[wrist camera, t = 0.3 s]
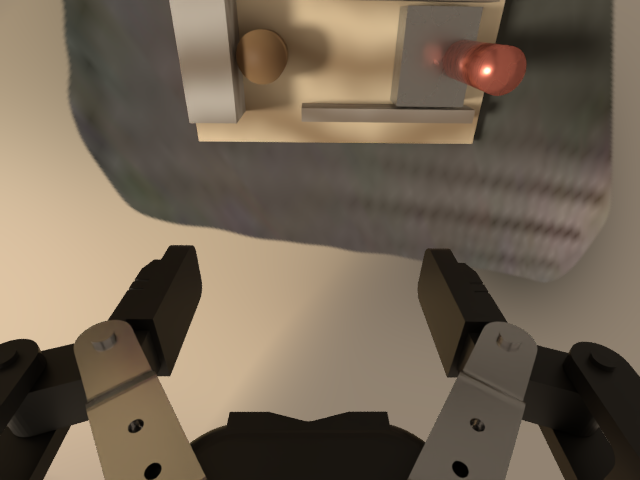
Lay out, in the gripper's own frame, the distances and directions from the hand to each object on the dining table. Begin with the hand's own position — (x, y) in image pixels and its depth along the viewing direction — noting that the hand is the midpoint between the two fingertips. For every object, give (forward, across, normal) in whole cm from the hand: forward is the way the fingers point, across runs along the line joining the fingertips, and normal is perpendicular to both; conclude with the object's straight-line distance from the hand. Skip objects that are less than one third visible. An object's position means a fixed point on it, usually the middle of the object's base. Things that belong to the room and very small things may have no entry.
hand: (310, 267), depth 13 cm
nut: (+27, +4, -4) cm, 27 cm away
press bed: (+28, -2, -4) cm, 28 cm away
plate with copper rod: (+27, -11, -4) cm, 29 cm away
